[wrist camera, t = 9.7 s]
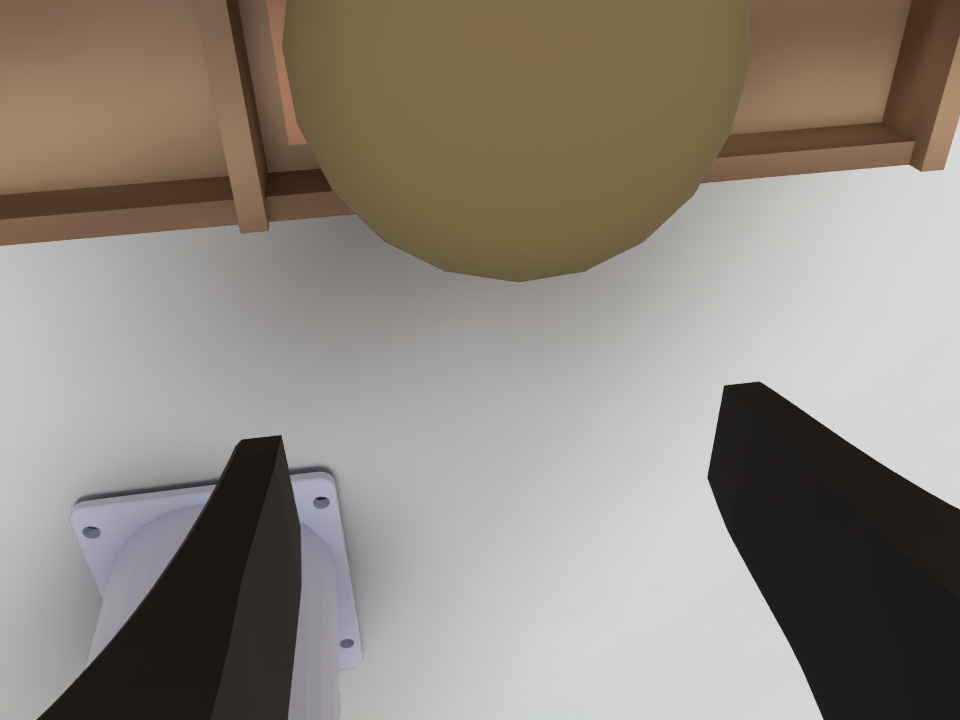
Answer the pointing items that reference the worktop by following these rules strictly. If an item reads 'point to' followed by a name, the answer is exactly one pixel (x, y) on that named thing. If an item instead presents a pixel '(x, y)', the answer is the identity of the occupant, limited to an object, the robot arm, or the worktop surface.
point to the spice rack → (289, 160)
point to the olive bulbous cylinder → (515, 120)
